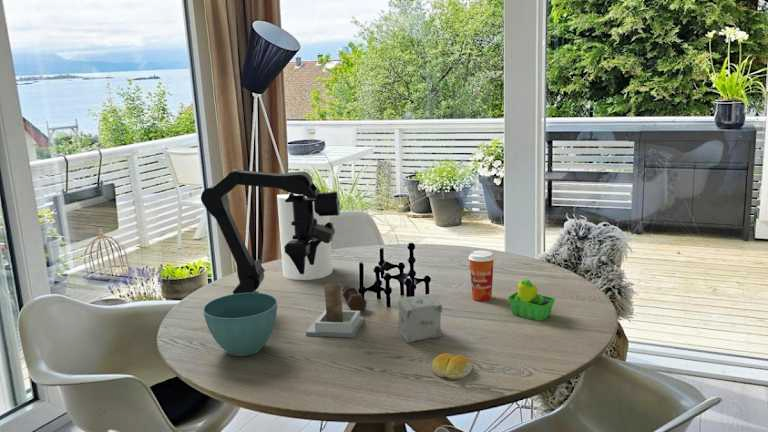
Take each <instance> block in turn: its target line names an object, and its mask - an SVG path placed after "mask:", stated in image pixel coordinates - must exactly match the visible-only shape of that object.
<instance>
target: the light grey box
mask: <svg viewBox="0 0 768 432" xmlns="http://www.w3.org/2000/svg"><path fill="white" fill-rule="evenodd" d="M442 313H443V306H442V303H441V302H440V300H438V299H437V297H436V296H435V295H434V293H428V294H422V295H421V294H420V295H416V296H415V295H413V296H405V297H399V299H398V320H397V321H398V326H397V327H398V332H400V334H401V335H402V337H403V338H404V341H405V343H406V344H410V343H413V342H415V341H421V340H425V339H426V340H427V339H429V338H430V339H431V338H432V339H433V338H434V339H435V338H436V339H437V338H439V337H440V336H442V329H441V328H442V327H441V319H442V317H441V315H442Z"/></svg>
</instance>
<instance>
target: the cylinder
mask: <svg viewBox="0 0 768 432" xmlns="http://www.w3.org/2000/svg"><path fill="white" fill-rule="evenodd" d="M289 195H290V193H289V194H276V201H277V202H276V203H277V211H278V212H277V214H278V226H279V227H278V229H279V238H280V253H281V265H282V266H281V267H282V276H283V277H284V278H285V279H289V280H294V281H312V280H317V279H322V278H325V277H328V276H329V275H331V274H332V273H333V260H332V243H331V242H332V241H330V243H324V242H323V241H322V242H321V243H320V244H319V245H318V247H317V251H316V256H315V262H314V265H310V263H309V261H308V258H307V256H306V258H305V271H304V274H300V273H299V271H298V269H297V268H296V266H295V264H294V263H293V261H292V259H291V258H290V256H289V255H287V253H285V248H284V246H285V245H286V244H287V243H288V242H290V241H291V240H296V239H293V235H295V231H294V225H292V221H294V218H293V204H292V202H285V200H286V199H287V198H288V197H289ZM294 195H297V194H294ZM305 197H306V196H305ZM306 198H307V197H306ZM313 214H314V218H316V220H317V224H320V225H322V224H323V226H324V225H325V224H326V223H328V222H330V216H319V214H317V213H315V208H314V201H313Z"/></svg>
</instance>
